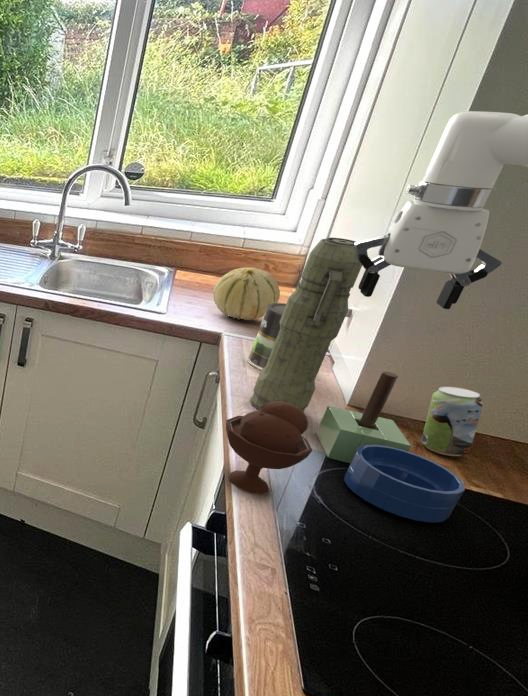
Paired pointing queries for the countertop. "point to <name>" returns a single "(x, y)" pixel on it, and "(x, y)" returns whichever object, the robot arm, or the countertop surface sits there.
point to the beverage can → (452, 421)
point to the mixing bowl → (404, 483)
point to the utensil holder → (355, 434)
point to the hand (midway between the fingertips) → (402, 300)
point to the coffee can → (266, 335)
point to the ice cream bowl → (267, 442)
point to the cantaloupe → (246, 293)
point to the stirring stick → (377, 399)
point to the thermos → (309, 324)
